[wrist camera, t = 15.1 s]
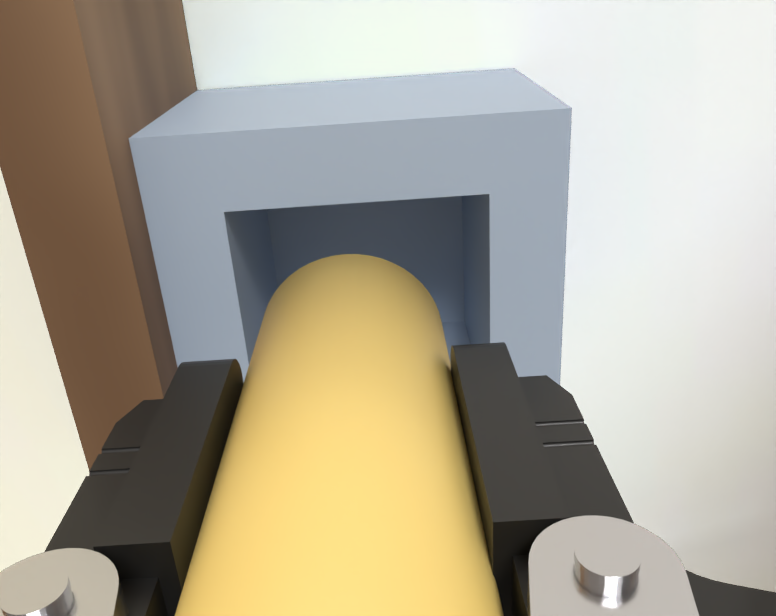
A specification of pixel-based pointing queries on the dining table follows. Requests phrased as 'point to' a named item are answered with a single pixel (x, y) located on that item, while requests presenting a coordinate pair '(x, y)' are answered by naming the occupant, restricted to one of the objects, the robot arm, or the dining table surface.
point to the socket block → (363, 203)
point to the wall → (91, 188)
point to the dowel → (345, 462)
